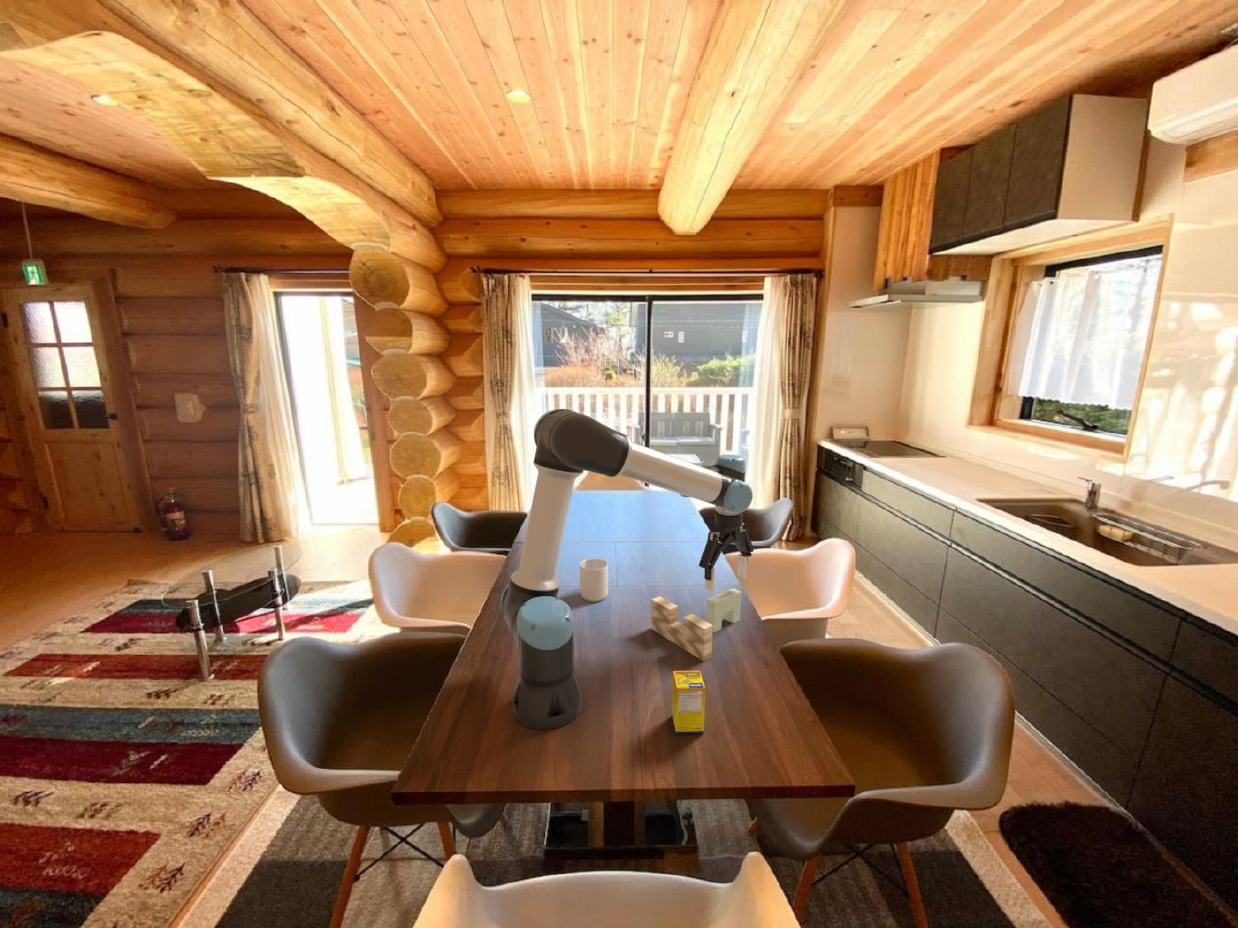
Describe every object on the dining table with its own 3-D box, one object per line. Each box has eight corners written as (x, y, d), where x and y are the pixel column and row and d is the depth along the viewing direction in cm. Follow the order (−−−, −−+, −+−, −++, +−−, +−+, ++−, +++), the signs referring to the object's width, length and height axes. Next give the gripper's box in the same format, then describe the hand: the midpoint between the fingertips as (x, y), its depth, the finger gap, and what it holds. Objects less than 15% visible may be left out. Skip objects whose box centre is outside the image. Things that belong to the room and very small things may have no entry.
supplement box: (698, 714, 112) (700, 669, 109) (704, 734, 106) (706, 687, 103) (671, 715, 111) (672, 669, 109) (675, 735, 106) (676, 687, 103)
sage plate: (714, 632, 144) (715, 602, 142) (706, 627, 147) (707, 598, 145) (739, 620, 151) (741, 591, 149) (731, 616, 153) (733, 588, 151)
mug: (605, 603, 161) (605, 570, 158) (577, 601, 162) (577, 568, 159) (611, 586, 172) (611, 555, 170) (585, 585, 173) (584, 553, 171)
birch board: (711, 657, 133) (712, 625, 131) (703, 661, 131) (704, 629, 129) (658, 625, 148) (659, 596, 146) (651, 628, 146) (651, 599, 144)
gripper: (707, 524, 131) (705, 601, 136) (768, 505, 146) (764, 575, 151) (686, 517, 137) (685, 590, 142) (747, 500, 152) (743, 567, 157)
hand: (726, 583), depth 146 cm, fingers open, 13 cm apart
